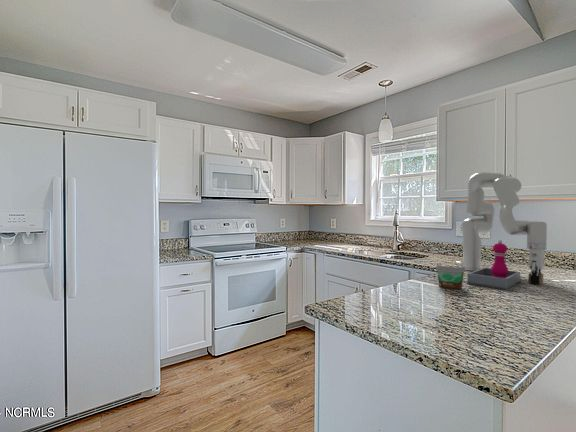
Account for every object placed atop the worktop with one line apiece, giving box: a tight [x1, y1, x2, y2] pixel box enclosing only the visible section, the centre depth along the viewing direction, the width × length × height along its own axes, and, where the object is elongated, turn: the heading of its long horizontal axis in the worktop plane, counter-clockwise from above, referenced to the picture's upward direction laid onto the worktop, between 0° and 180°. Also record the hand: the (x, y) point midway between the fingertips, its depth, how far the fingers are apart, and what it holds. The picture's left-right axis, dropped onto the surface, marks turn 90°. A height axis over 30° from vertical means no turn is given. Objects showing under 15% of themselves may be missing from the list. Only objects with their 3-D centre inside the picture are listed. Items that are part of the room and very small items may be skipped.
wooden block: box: [527, 271, 544, 286], centre depth 152 cm, size 5×5×5 cm
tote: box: [466, 267, 521, 291], centre depth 152 cm, size 16×26×5 cm, turn 132°
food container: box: [435, 264, 467, 291], centre depth 140 cm, size 12×6×10 cm, turn 62°
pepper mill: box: [490, 239, 509, 278], centre depth 156 cm, size 7×7×20 cm
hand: (535, 282), depth 152 cm, fingers closed on wooden block, 5 cm apart
